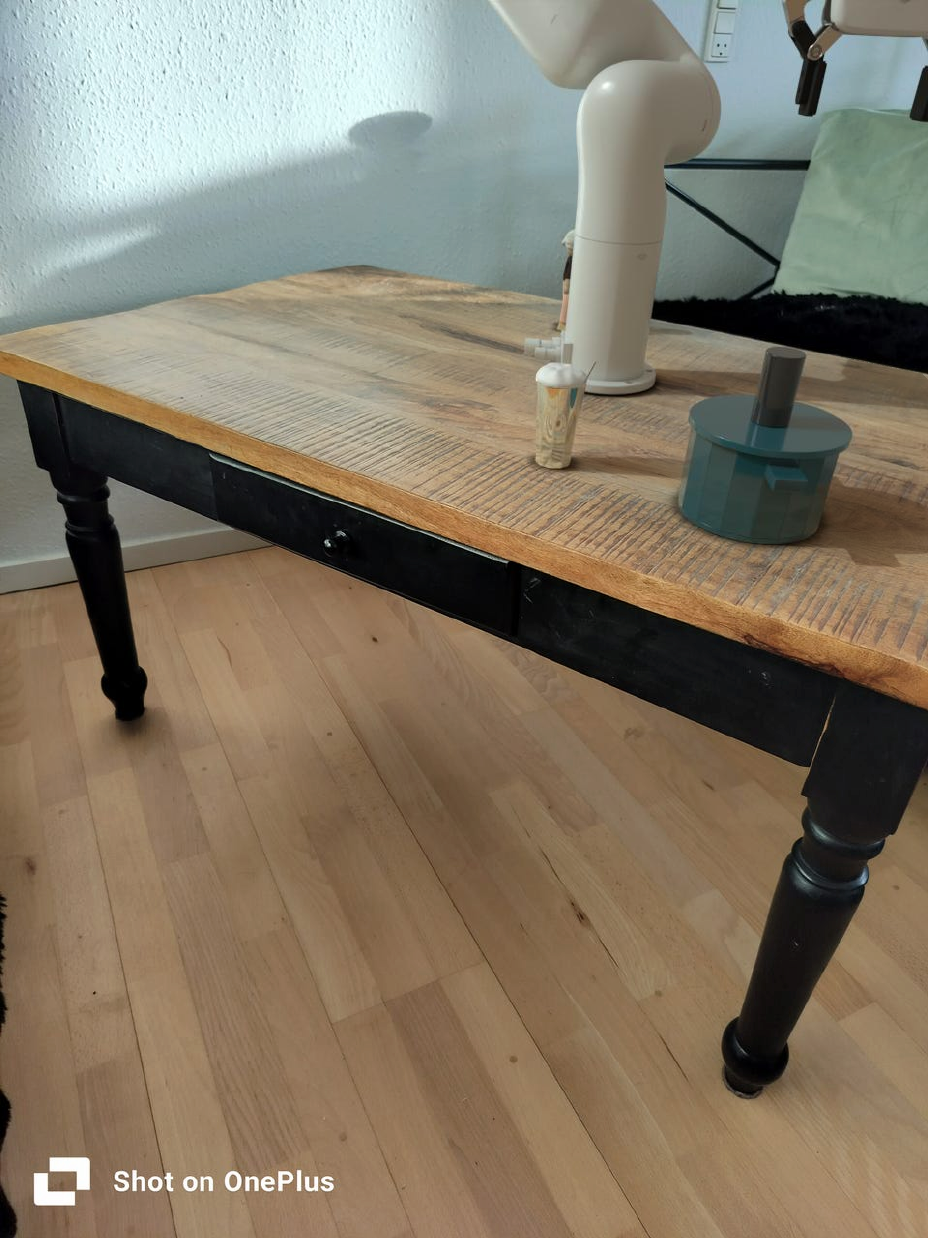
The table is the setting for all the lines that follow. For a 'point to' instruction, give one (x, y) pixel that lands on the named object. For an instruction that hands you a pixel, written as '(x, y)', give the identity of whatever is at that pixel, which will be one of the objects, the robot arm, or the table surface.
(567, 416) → the milkshake
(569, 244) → the grandmother figurine
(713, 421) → the lid
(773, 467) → the pot
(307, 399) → the table surface
